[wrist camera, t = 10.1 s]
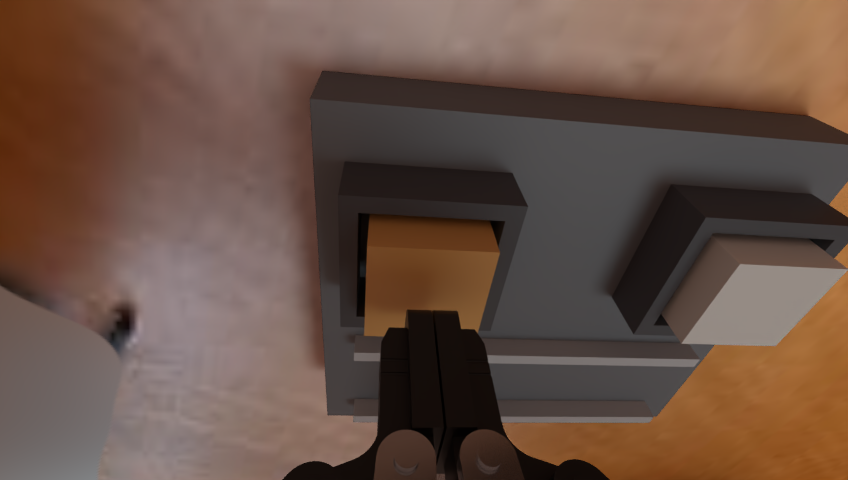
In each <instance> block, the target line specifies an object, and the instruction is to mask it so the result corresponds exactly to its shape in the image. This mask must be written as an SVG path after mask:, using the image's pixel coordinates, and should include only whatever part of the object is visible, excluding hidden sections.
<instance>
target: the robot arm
mask: <svg viewBox="0 0 848 480" xmlns="http://www.w3.org/2000/svg"><path fill="white" fill-rule="evenodd" d="M437 474H445V480H609V479H608V478H607V477H606V476H605V475H604V474H603V473H602V472H601V471H600V470H598V469H597V468H596V467H595V466H593V465H591V464H590V463H587V462H585V461H582V460H576V459H573V460H567V461H565V462H563V463H561V464H560V465H559V466H556V465H554V464H551V463H548V462H545V461H542V460H539V459H536V458H533V457H531V456H528V455H526V454H524V453H523V452H521V451H520V450H519V449H517V448H516V447H515V446H514V445H513V444H512V443H511V441H510V440H509V439H508V437H507V435H506V433H505V431H504V429H503V425H502V421H501V416H500V412H499V407H498V403H497V398H496V394H495V389H494V384H493V380H492V376H491V371H490V366H489V363H488V357H487V352H486V348H485V343H484V342H483V341H482V339H481V338H480V336H479V335H478V333H477V332H476V331H475V329H461V325H460V319H459V314H458V311H450V310H432V311H431V310H411V309H407V311H406V318H405V327H404V328H395V327H389V328H388V330H387V332H386V334H385V336H384V337H383V339H382V341H381V352H380V366H379V393H378V429H377V437H376V440H375V441H374V443H373V445H372V446H371V447H370V448H369V450H368V451H366V452H365V453H364V454H363V455H361V456H360V457H358V458H356V459H354V460H351V461H348V462H346V463H343V464H340V465H338V466H335V467H332V466H331V465H329V464H327V463H324V462H320V461H312V462H307V463H304V464H301V465H299V466H297V467H296V468H294V469H293V470H292V471H291V472H289V473H288V474H287V475H286V476H285V477H284V479H283V480H437Z"/></svg>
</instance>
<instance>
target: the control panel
mask: <svg viewBox="0 0 848 480" xmlns="http://www.w3.org/2000/svg"><path fill="white" fill-rule="evenodd" d="M310 112H311V130H312V147H313V165H314V183H315V200H316V218H317V236H318V253H319V271H320V289H321V306H322V324H323V342H324V359H325V377H326V395H327V412H328V415H353V422H378V393H379V366H380V352H381V341H382V339H383V337H384V336H364V326H365V295H366V265H367V241H368V229H369V216H370V214H387V215H404V216H422V217H440V218H457V219H475V220H490V223H491V226H492V229H493V232H494V235H495V238H496V242H497V245H498V248H499V251H500V255H499V258H498V262H497V265H496V269H495V273H494V276H493V280H492V283H491V287H490V291H489V294H488V298H487V301H486V305H485V309H484V312H483V316H482V319H481V323H480V327H479V330H478V335H479V336H480V338H481V339H482V341H483V342H484V343H485V348H486V352H487V357H488V363H489V366H490V371H491V376H492V380H493V384H494V389H495V394H496V398H497V403H498V407H499V412H500V416H501V421H502V422H505V423H649V422H650V421H651V420H652V418H653V416H657V415H658V414H659V413H660V412H661V410H662V409H663V408H664V407H665V405H666V404H667V403H668V402H669V400H670V399H671V398H672V397H673V396H674V394H675V393H676V392H677V391H678V389H679V388H680V387H681V386H682V384H683V383H684V382H685V381H686V380H687V378H688V377H689V376H690V375H691V373H692V372H693V371H694V370H695V368H696V367H697V366H698V365H699V364H700V362H701V361H702V360H703V359H704V357H705V356H706V355H707V354H708V352H709V351H710V350H711V349H712V348H713V346H714V345H713V344H681V343H680V341H679V340H678V338H677V337H676V335H675V334H674V332H673V331H672V329H671V328H670V326H669V325H668V323H667V322H666V320H665V319H664V317H663V316H662V315H661V313H662V311H663V310H664V308H665V307H666V305H667V304H668V302H669V300H670V299H671V297H672V296H673V294H674V293H675V291H676V290H677V288H678V287H679V285H680V284H681V282H682V280H683V279H684V277H685V276H686V274H687V273H688V271H689V270H690V268H691V267H692V265H693V263H694V262H695V260H696V259H697V257H698V256H699V254H700V253H701V251H702V250H703V248H704V246H705V245H706V243H707V242H708V240H709V239H710V237H711V236H712V234H713V233H722V234H740V235H758V236H775V237H793V238H808V239H810V240H811V241H812V242H813V243H815V244H816V245H817V246H819V247H820V248H821V249H823V250H824V251H825V252H826V253H828V254H829V255H830V256H832V257H833V258H835V257H836V256H837V254H838V253H839V252H840V251H841V250H842V249H843V248H844V247H845V246H846V245H847V243H848V217H846V216H845V215H843V214H842V213H840V212H839V211H837V210H836V209H834V208H833V207H831V206H830V205H829V204H830V202H831V201H832V200H833V199H834V197H835V196H836V195H837V194H838V193H839V191H840V190H841V189H842V188H843V186H844V185H845V184H846V183H847V181H848V134H847V133H844V132H842V131H840V130H838V129H836V128H834V127H832V126H830V125H827V124H825V123H823V122H821V121H819V120H817V119H815V118H813V117H811V116H802V115H791V114H781V113H770V112H759V111H748V110H738V109H727V108H716V107H705V106H695V105H684V104H673V103H662V102H652V101H641V100H630V99H619V98H609V97H598V96H587V95H576V94H566V93H555V92H544V91H533V90H523V89H512V88H501V87H490V86H480V85H469V84H458V83H447V82H437V81H426V80H415V79H404V78H394V77H383V76H372V75H361V74H351V73H340V72H329V71H322V74H321V76H320V78H319V80H318V82H317V84H316V86H315V89H314V91H313V93H312V95H311V97H310Z"/></svg>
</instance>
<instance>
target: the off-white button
mask: <svg viewBox="0 0 848 480" xmlns="http://www.w3.org/2000/svg"><path fill="white" fill-rule="evenodd" d="M847 270H848V269H847V268H846V267H845V266H843V265H842V264H841V263H839V262H838V261H837V260H836V259H834V258H833V257H832V256H830V255H829V254H828V253H826V252H825V251H824V250H823V249H821V248H820V247H819V246H817V245H816V244H815V243H813V242H812V241H811V240H810V239H808V238H793V237H775V236H758V235H740V234H722V233H713V234H712V236H711V237H710V239H709V240H708V242H707V243H706V245H705V246H704V248H703V250H702V251H701V253H700V254H699V256H698V257H697V259H696V260H695V262H694V263H693V265H692V267H691V268H690V270H689V271H688V273H687V274H686V276H685V277H684V279H683V280H682V282H681V284H680V285H679V287H678V288H677V290H676V291H675V293H674V294H673V296H672V297H671V299H670V300H669V302H668V304H667V305H666V307H665V308H664V310H663V311H662V313H661V315H662V316H663V317H664V319H665V320H666V322H667V323H668V325H669V326H670V328H671V329H672V331H673V332H674V334H675V335H676V337H677V338H678V340H679V341H680V343H681V344H713V345H754V346H776V345H777V344H778V343H779V342H780V341H781V340H782V339H783V338H784V337H785V336H786V335H787V334H788V332H789V331H790V330H791V329H792V328H793V327H794V326H795V325H796V324H797V323H798V322H799V321H800V320H801V319H802V318H803V317H804V316H805V315H806V314H807V312H808V311H809V310H810V309H811V308H812V307H813V306H814V305H815V304H816V303H817V302H818V301H819V300H820V299H821V298H822V297H823V296H824V295H825V294H826V292H827V291H828V290H829V289H830V288H831V287H832V286H833V285H834V284H835V283H836V282H837V281H838V280H839V279H840V278H841V277H842V276H843V275H844V274H845V272H846V271H847Z"/></svg>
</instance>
